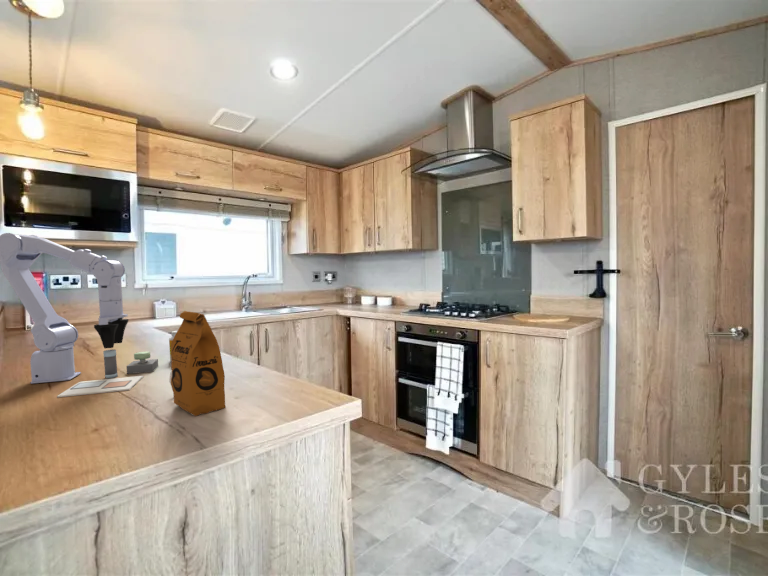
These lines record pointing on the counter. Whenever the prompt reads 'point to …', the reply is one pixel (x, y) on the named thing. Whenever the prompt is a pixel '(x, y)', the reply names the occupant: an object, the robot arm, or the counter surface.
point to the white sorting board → (101, 386)
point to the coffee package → (197, 366)
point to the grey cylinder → (110, 363)
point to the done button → (142, 356)
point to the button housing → (142, 366)
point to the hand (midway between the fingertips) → (113, 345)
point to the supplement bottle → (171, 340)
